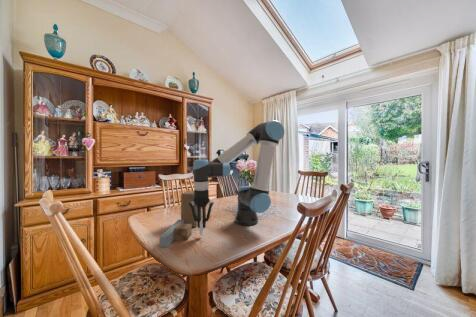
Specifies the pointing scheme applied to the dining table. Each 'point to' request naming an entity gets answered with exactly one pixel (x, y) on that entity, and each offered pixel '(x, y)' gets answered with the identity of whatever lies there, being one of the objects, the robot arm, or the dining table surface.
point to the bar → (169, 235)
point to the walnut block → (182, 231)
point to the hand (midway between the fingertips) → (201, 233)
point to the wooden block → (188, 208)
